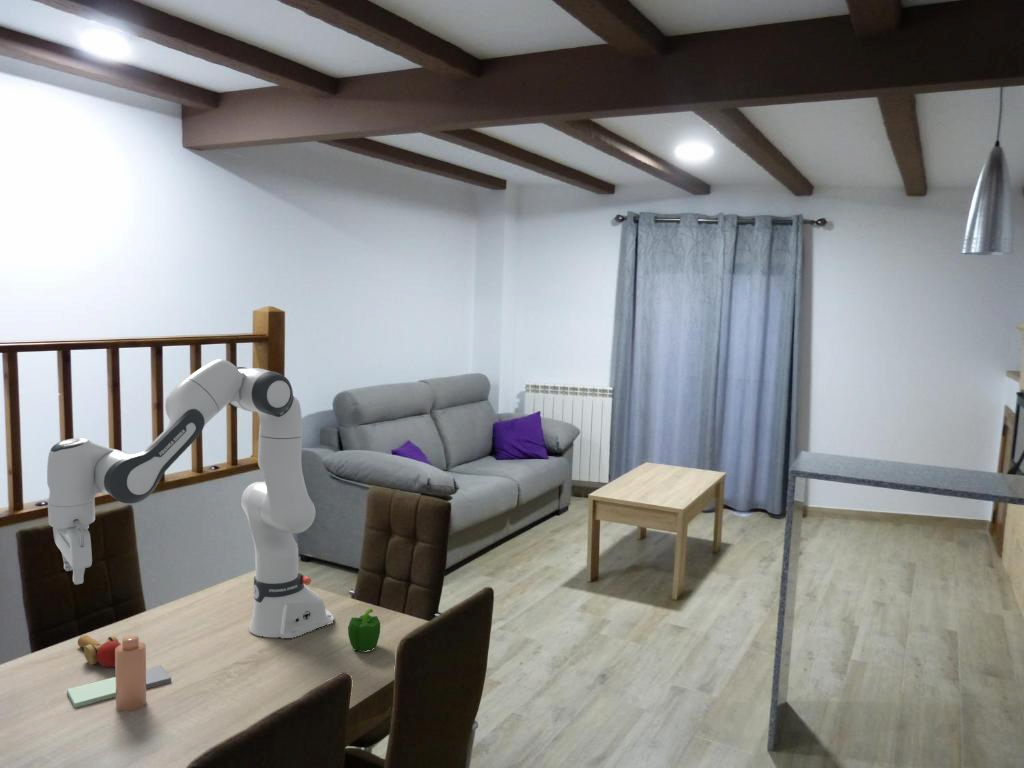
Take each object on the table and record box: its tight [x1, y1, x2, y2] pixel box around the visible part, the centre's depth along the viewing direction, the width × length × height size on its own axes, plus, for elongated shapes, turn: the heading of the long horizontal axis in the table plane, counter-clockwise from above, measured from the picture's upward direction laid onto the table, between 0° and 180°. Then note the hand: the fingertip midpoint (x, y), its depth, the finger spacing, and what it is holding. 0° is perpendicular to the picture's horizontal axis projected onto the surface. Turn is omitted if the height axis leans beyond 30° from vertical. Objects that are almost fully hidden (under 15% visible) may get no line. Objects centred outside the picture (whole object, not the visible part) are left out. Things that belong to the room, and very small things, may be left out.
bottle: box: [114, 635, 147, 712], centre depth 174 cm, size 6×6×15 cm
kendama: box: [77, 634, 122, 668], centre depth 195 cm, size 8×6×18 cm
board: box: [66, 664, 172, 709], centre depth 181 cm, size 20×8×1 cm, turn 130°
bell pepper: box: [347, 608, 381, 652], centre depth 205 cm, size 8×8×10 cm
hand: (73, 576), depth 173 cm, fingers open, 8 cm apart
